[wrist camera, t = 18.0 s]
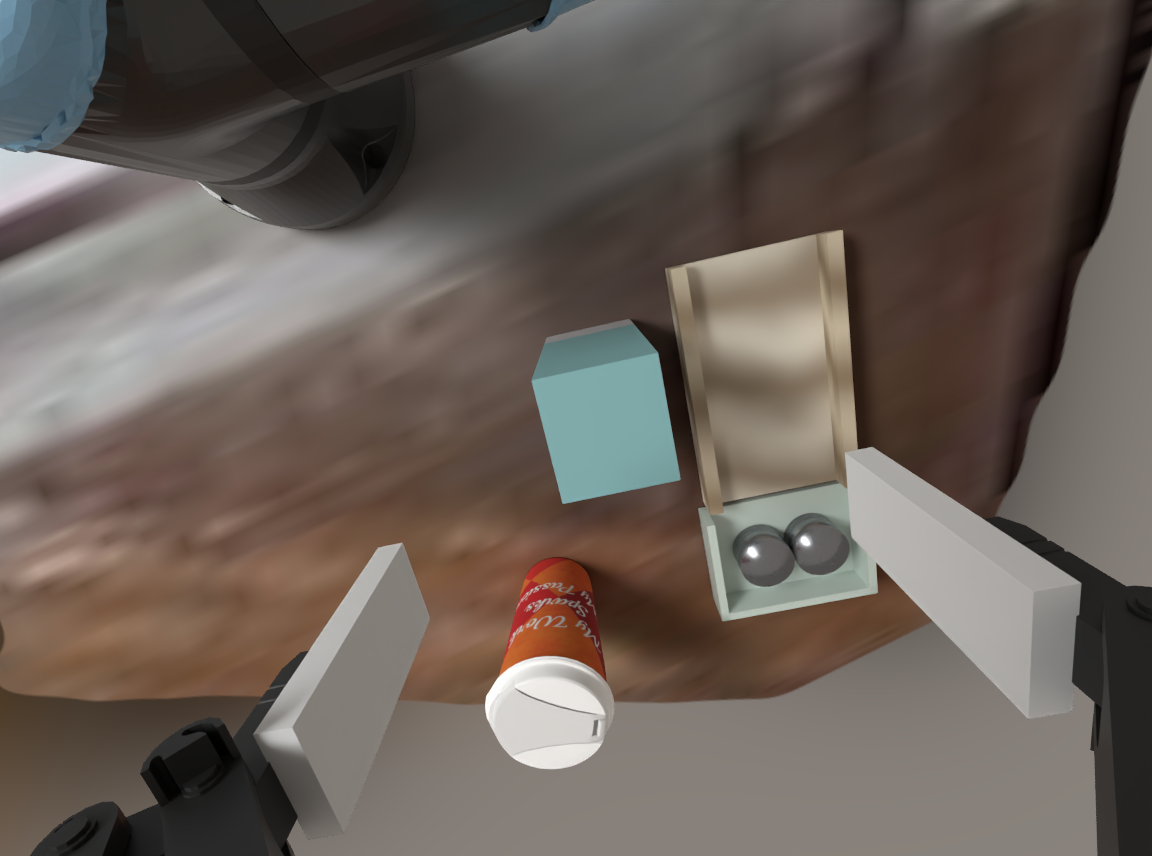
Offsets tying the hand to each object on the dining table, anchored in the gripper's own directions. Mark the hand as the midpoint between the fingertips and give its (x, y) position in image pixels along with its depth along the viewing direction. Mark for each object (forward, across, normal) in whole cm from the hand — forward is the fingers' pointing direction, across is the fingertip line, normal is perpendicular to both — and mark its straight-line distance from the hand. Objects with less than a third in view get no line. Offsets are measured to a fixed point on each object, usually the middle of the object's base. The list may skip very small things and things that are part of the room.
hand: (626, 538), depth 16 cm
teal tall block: (+25, 0, 0) cm, 25 cm away
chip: (+24, +10, -17) cm, 31 cm away
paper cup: (+25, -7, -17) cm, 31 cm away
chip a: (+24, +14, -17) cm, 32 cm away
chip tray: (+25, +12, -17) cm, 32 cm away
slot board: (+25, +12, -3) cm, 27 cm away
